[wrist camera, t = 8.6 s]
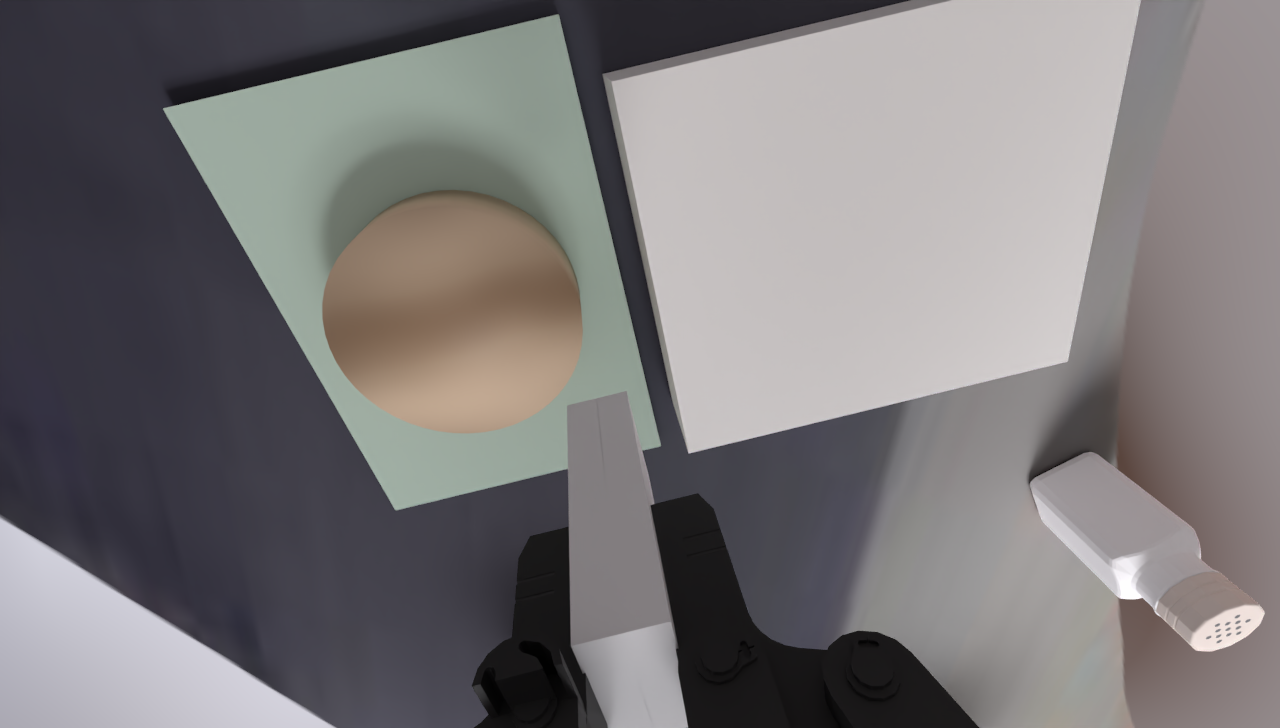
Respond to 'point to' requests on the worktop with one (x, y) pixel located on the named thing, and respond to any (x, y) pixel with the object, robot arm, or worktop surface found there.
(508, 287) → the tan flat disc
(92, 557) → the worktop surface
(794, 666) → the robot arm
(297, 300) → the rubber mat
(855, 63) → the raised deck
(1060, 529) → the pepper shaker
